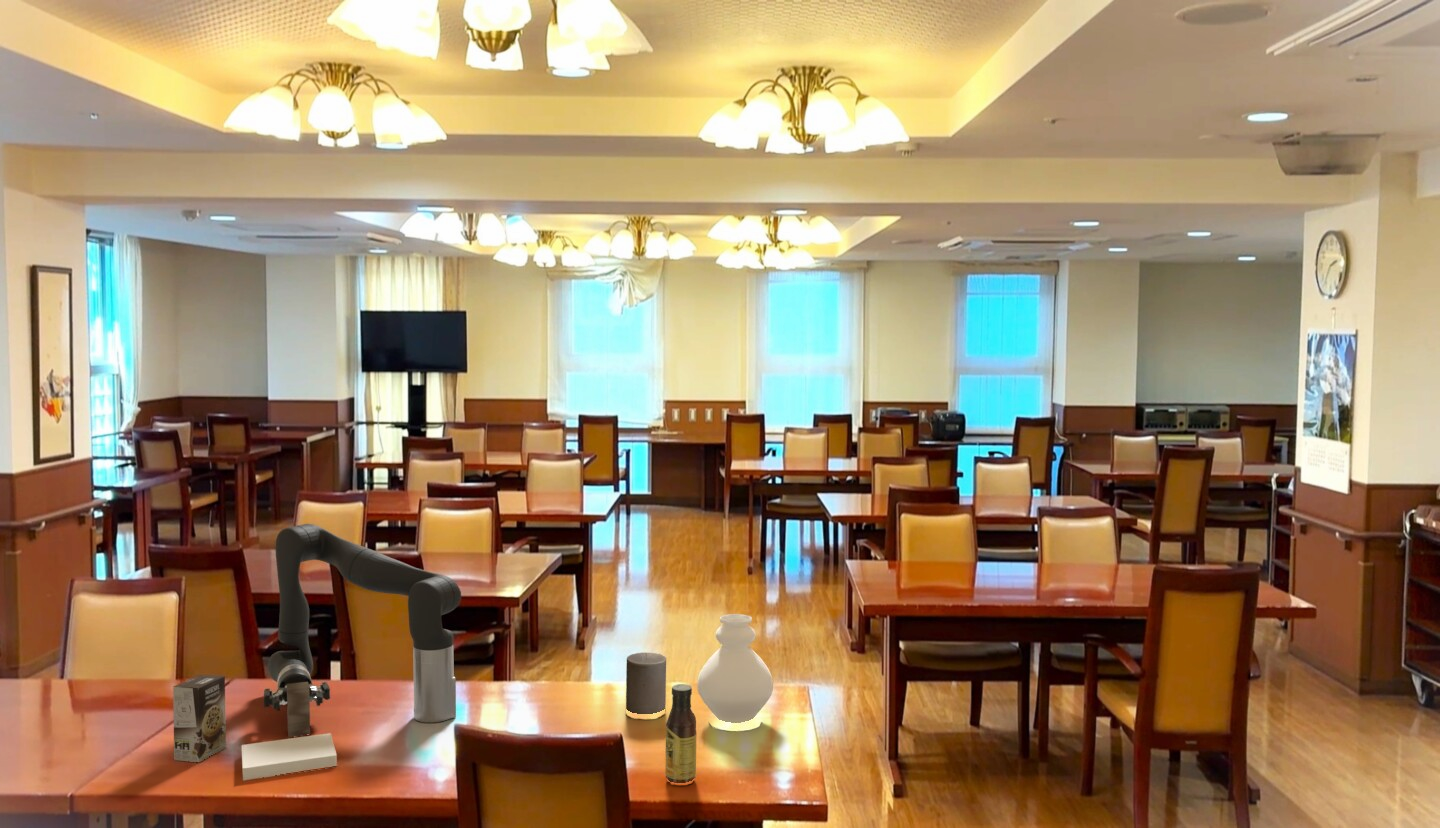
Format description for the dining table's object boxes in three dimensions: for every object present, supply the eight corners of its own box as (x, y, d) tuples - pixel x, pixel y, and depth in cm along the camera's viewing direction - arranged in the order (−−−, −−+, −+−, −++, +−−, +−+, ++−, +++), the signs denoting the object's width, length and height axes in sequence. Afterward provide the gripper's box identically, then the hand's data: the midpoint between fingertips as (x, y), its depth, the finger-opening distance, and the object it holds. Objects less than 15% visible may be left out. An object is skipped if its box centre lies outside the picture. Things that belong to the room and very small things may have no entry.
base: (330, 744, 240) (330, 733, 240) (336, 766, 227) (336, 755, 227) (241, 756, 232) (241, 745, 232) (242, 780, 220) (242, 768, 219)
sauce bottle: (664, 775, 224) (665, 681, 222) (695, 775, 224) (695, 680, 223) (665, 788, 217) (666, 691, 216) (697, 788, 218) (697, 690, 216)
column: (308, 728, 249) (307, 681, 249) (310, 735, 245) (309, 687, 245) (287, 731, 247) (286, 684, 247) (288, 738, 243) (287, 689, 243)
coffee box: (199, 763, 228) (198, 688, 227) (173, 760, 230) (171, 685, 229) (227, 747, 237) (226, 675, 236) (201, 745, 239) (200, 673, 238)
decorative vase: (767, 738, 245) (768, 629, 244) (690, 733, 248) (691, 625, 247) (776, 712, 263) (778, 610, 261) (704, 707, 266) (705, 607, 264)
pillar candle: (617, 715, 260) (618, 654, 258) (641, 704, 268) (642, 644, 267) (650, 723, 254) (651, 661, 253) (674, 711, 263) (674, 651, 262)
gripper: (261, 671, 257) (264, 691, 242) (325, 664, 263) (331, 683, 248) (262, 702, 257) (264, 724, 242) (326, 695, 263) (332, 715, 248)
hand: (298, 703), depth 245 cm, fingers open, 8 cm apart
